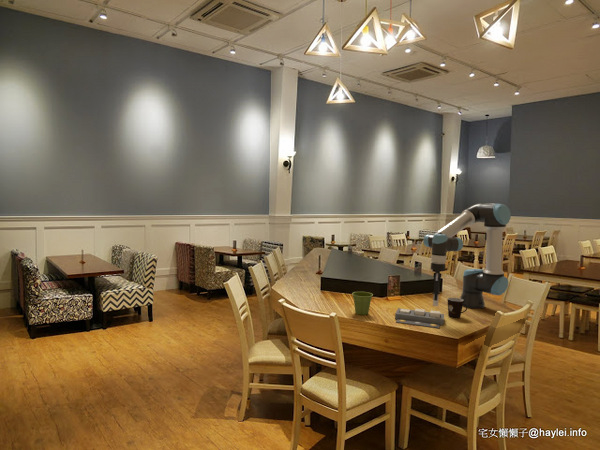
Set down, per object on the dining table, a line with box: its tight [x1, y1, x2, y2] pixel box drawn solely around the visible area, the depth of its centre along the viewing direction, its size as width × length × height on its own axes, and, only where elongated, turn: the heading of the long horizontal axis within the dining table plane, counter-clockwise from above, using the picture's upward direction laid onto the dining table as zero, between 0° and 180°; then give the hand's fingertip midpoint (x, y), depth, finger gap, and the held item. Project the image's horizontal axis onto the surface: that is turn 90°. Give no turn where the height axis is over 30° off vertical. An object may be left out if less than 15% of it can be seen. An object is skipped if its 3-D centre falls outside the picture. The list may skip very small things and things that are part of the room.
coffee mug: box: [446, 297, 468, 319], centre depth 243 cm, size 12×9×10 cm
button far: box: [400, 308, 411, 314], centre depth 240 cm, size 5×5×2 cm
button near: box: [429, 310, 441, 318], centre depth 234 cm, size 5×5×2 cm
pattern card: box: [395, 319, 441, 329], centre depth 229 cm, size 22×6×1 cm, turn 69°
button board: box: [394, 307, 445, 326], centre depth 237 cm, size 25×12×3 cm, turn 69°
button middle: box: [414, 308, 426, 316], centre depth 237 cm, size 5×5×2 cm
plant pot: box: [351, 291, 374, 316], centre depth 244 cm, size 12×12×11 cm
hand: (435, 305), depth 234 cm, fingers closed
